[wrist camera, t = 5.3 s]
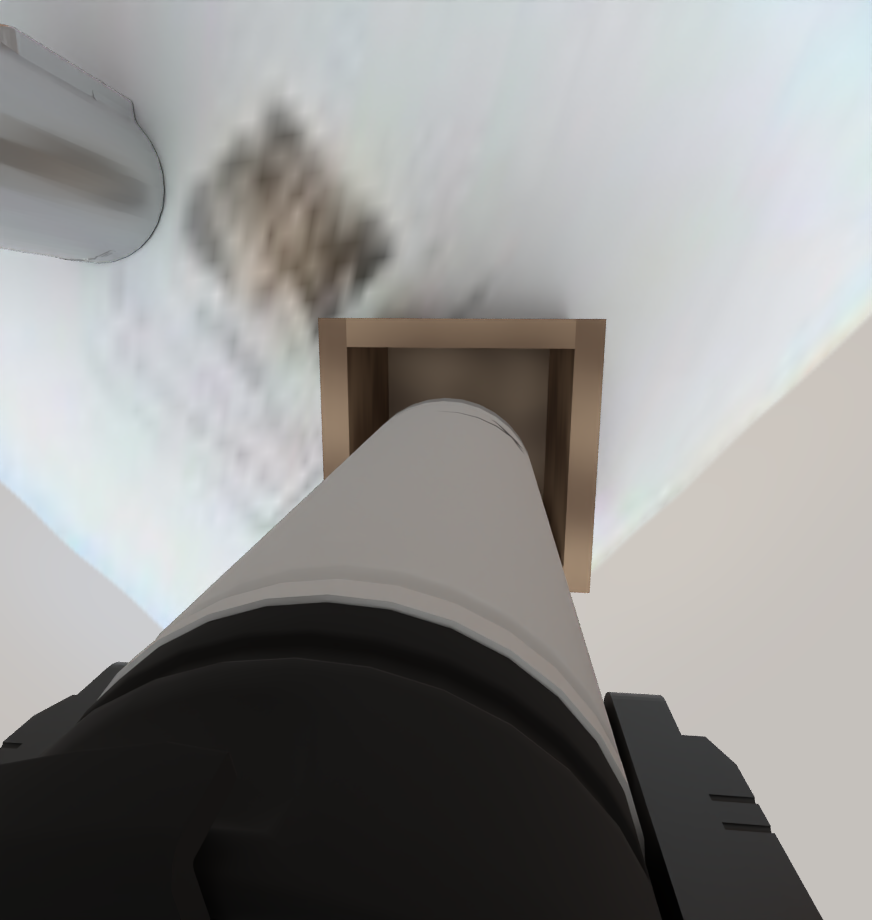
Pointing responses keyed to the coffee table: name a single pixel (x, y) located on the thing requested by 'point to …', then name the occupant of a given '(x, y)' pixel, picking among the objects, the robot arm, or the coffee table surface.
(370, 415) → the wooden box
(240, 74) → the coffee table surface
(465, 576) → the travel mug
